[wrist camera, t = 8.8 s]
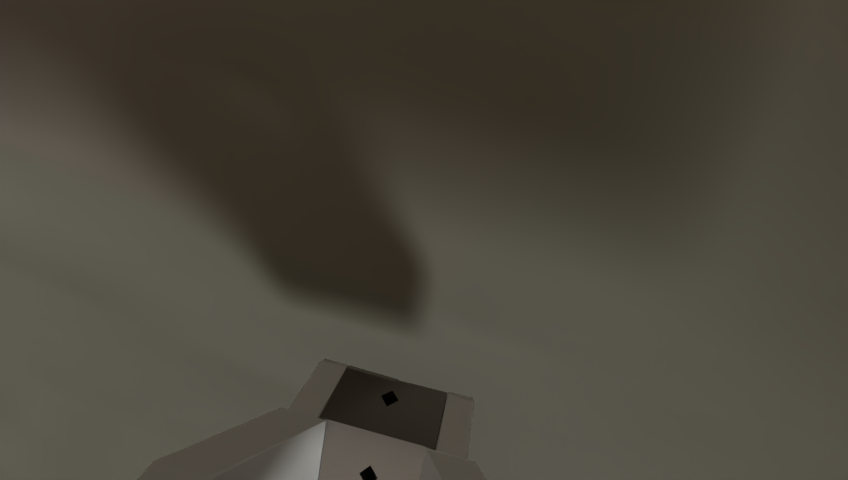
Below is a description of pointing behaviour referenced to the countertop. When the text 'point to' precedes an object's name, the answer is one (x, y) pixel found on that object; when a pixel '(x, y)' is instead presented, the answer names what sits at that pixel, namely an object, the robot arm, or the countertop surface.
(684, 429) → the countertop surface
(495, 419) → the countertop surface
